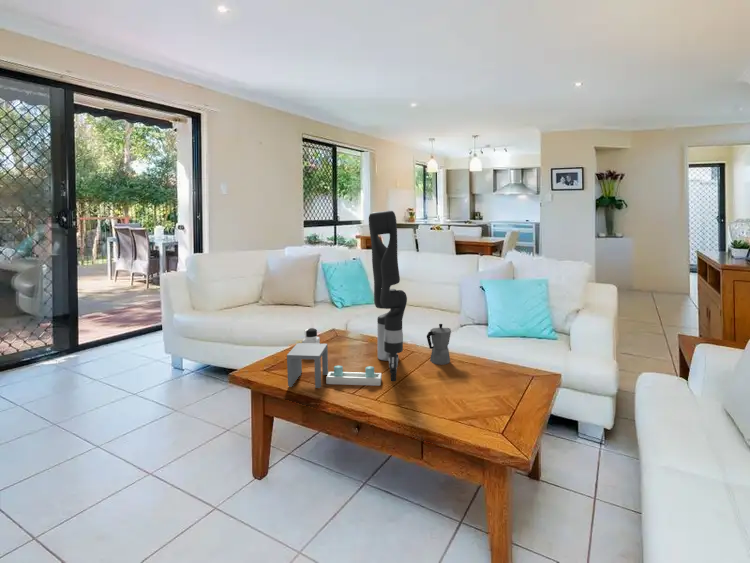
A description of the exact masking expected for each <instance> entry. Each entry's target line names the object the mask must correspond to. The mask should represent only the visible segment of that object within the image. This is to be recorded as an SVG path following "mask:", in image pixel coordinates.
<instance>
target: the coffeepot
mask: <svg viewBox="0 0 750 563" xmlns="http://www.w3.org/2000/svg"><path fill="white" fill-rule="evenodd" d="M438 326H439V327H433V328H431V329H430V331H428V332H427V335H426V339H427V344H428V347H429V349H430V350H431V352H430V358H429V360H430V362H431V363H432V364H435V365H441V366H443V365H444V366H445V365H448V364H450V362H451V359H450V358H451V356H450V350H449V344H450V338H451V335H452V334H451V332H452V330H451V328H450V327H443V323H439V324H438Z"/></svg>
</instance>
